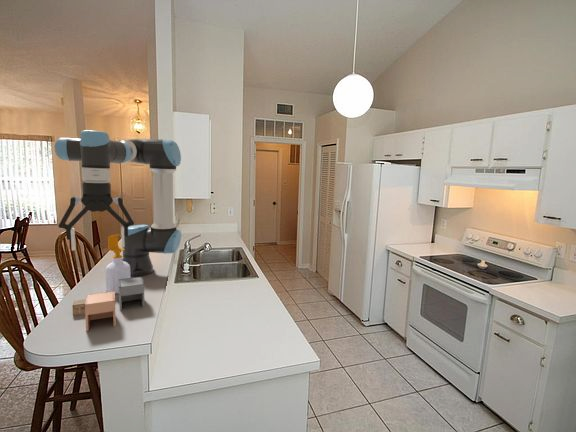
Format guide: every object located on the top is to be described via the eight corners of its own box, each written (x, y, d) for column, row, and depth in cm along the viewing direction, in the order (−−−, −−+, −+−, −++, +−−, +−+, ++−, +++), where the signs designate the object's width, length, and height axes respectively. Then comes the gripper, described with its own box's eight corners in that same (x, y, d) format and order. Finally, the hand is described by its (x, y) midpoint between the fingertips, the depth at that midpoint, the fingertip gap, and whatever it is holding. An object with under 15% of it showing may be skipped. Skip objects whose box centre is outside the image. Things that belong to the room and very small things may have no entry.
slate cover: (119, 301, 119) (118, 279, 118) (142, 298, 123) (142, 276, 122) (119, 310, 112) (119, 286, 111) (144, 306, 116) (144, 283, 115)
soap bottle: (115, 296, 124) (113, 236, 120) (101, 291, 128) (99, 233, 124) (135, 288, 132) (134, 232, 128) (121, 284, 136) (119, 230, 132)
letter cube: (74, 310, 110) (74, 300, 109) (87, 309, 112) (87, 298, 111) (72, 316, 106) (72, 305, 106) (86, 314, 108) (86, 303, 108)
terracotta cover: (87, 319, 104) (86, 294, 103) (115, 315, 108) (114, 291, 107) (86, 331, 97) (84, 304, 96) (115, 326, 101) (115, 300, 100)
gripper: (43, 181, 86) (48, 254, 90) (141, 183, 99) (142, 247, 102) (48, 179, 93) (52, 247, 96) (139, 182, 105) (140, 242, 108)
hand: (99, 247), depth 99 cm, fingers open, 13 cm apart
